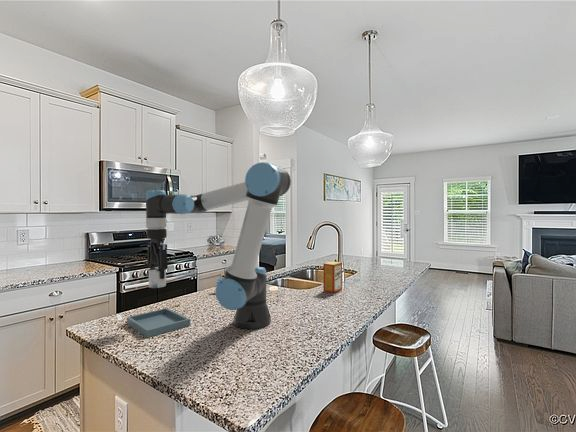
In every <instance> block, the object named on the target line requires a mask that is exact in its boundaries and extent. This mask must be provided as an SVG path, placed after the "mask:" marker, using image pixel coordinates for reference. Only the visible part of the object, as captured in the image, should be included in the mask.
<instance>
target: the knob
mask: <svg viewBox="0 0 576 432" xmlns="http://www.w3.org/2000/svg"><path fill="white" fill-rule="evenodd" d="M157 270H158V267H155V268H151V269H150V268H149V269H148V288H149V289H150V288H151V289H160V288H162V287H159V288H158V283H157ZM166 270H167V269H166ZM166 270H165V286H164V287H166V286H167V277H166V276H167V271H166ZM164 287H163V288H164Z"/></svg>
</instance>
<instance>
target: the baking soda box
mask: <svg viewBox="0 0 576 432" xmlns="http://www.w3.org/2000/svg"><path fill="white" fill-rule="evenodd" d="M322 268H323V270H322V271H323V292H325V293H331V294H335V293H337V292H340V291H343V262H341V261H327V262H324V263H323V267H322Z"/></svg>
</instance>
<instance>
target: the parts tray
mask: <svg viewBox="0 0 576 432" xmlns="http://www.w3.org/2000/svg"><path fill="white" fill-rule="evenodd" d="M126 324H127V325H129V327H132V328H133V329H134V330H136V331H137V332H139V333H140V334H141V335H142V336H145V337H146V338H147V339H149V338H150V337H155V336H158V335H162V334H166V333H168V331H169V332H172V330H173V331H176V330H179V329H183V328H186V327H190V326H191V318H189V317H187V316H185V315H183V314H181V313H179V312H176V311H175V310H172V309H170V308H169V307H165V308H161V309H155V310H153V311H147V312H143V313H140V314H135V315H130V316H126ZM165 332H166V333H165Z"/></svg>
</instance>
